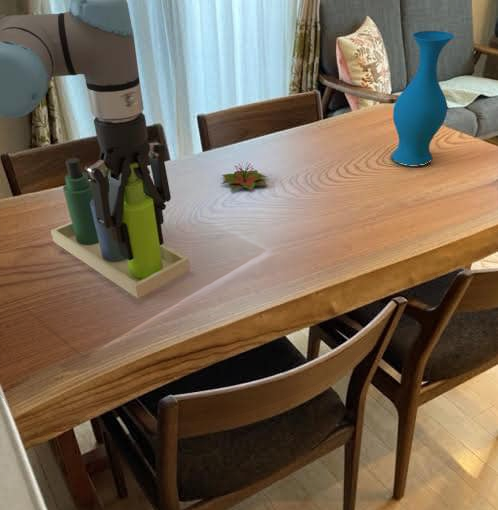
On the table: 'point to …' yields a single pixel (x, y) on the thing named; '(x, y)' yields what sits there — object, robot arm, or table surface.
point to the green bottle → (80, 203)
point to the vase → (421, 103)
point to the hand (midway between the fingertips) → (142, 248)
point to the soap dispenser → (141, 228)
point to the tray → (122, 263)
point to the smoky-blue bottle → (106, 235)
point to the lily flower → (244, 179)
